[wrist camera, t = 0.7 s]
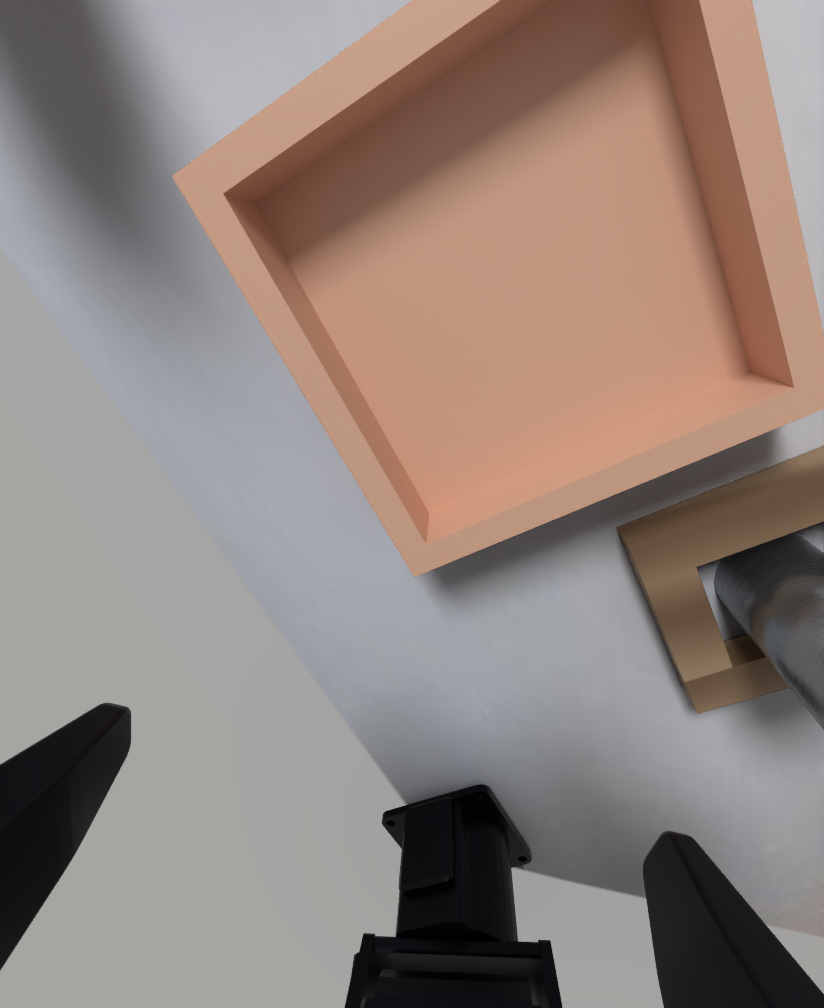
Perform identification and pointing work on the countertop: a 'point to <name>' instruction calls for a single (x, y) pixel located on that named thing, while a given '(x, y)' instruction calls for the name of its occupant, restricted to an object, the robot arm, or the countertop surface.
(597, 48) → the terracotta tray
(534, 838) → the countertop surface
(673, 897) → the robot arm
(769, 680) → the walnut collar
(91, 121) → the countertop surface
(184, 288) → the countertop surface
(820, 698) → the gunmetal pin
